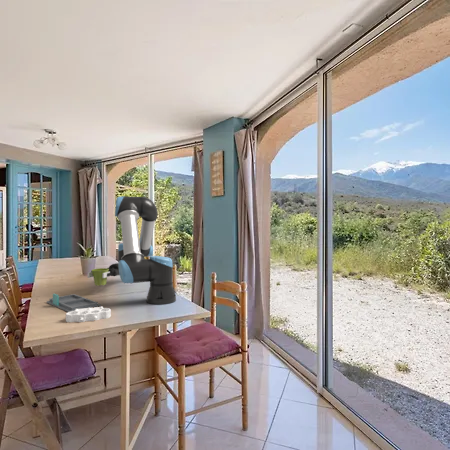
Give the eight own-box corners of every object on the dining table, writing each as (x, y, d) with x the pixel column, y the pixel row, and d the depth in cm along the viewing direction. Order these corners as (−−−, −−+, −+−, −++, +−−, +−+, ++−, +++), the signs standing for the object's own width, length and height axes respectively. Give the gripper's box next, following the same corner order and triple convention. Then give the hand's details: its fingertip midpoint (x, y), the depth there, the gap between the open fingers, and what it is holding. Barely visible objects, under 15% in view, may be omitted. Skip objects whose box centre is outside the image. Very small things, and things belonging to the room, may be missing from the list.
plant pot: (103, 286, 181) (103, 271, 181) (88, 286, 183) (87, 270, 182) (112, 283, 190) (112, 268, 190) (97, 282, 192) (97, 268, 192)
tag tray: (100, 306, 160) (100, 294, 160) (69, 312, 149) (69, 300, 149) (76, 297, 178) (75, 286, 178) (46, 302, 167) (46, 291, 167)
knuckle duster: (110, 311, 153) (111, 320, 139) (67, 315, 146) (64, 325, 133) (110, 304, 153) (111, 312, 139) (67, 308, 146) (64, 317, 133)
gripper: (132, 275, 202) (113, 282, 180) (101, 274, 206) (78, 281, 184) (132, 263, 202) (112, 269, 179) (101, 263, 206) (78, 268, 184)
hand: (95, 275), depth 182 cm, fingers closed on plant pot, 8 cm apart
